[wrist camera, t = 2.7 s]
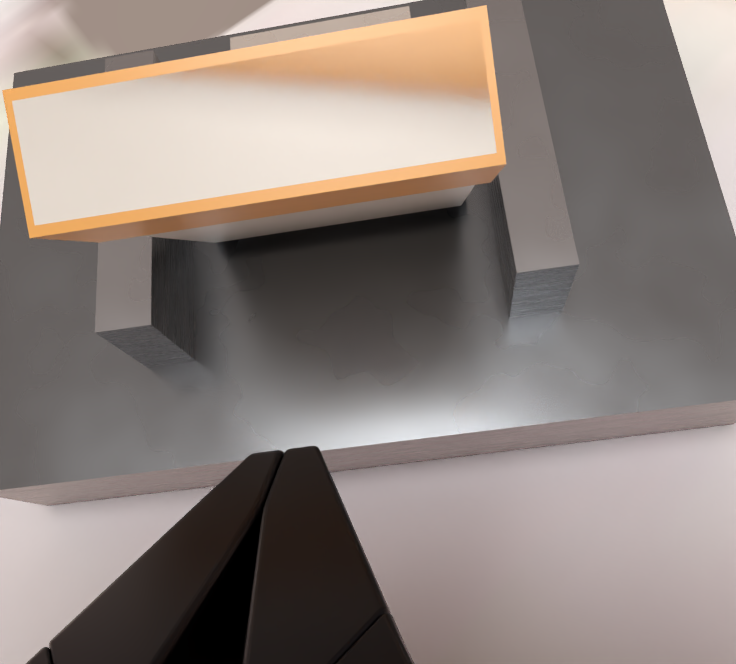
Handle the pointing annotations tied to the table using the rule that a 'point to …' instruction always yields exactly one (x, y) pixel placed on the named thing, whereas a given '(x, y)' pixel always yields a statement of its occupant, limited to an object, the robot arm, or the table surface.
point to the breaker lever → (264, 135)
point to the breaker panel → (396, 290)
